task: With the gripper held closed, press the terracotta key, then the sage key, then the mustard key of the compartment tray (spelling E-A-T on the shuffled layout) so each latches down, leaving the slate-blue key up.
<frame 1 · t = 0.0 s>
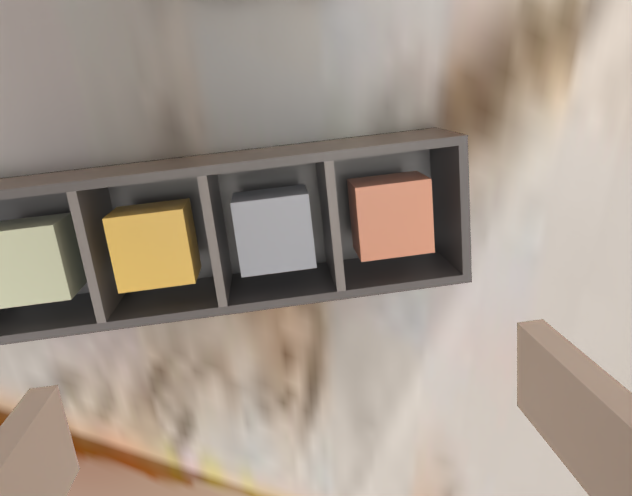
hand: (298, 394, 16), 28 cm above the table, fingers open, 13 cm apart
key E: (389, 214, 39), point 5 cm above the table, slide at 0.0 cm
key T: (155, 244, 38), point 5 cm above the table, slide at 0.0 cm
compartment tray: (220, 219, 43), on the table
key S: (273, 229, 38), point 5 cm above the table, slide at 0.0 cm
key A: (33, 259, 37), point 5 cm above the table, slide at 0.0 cm
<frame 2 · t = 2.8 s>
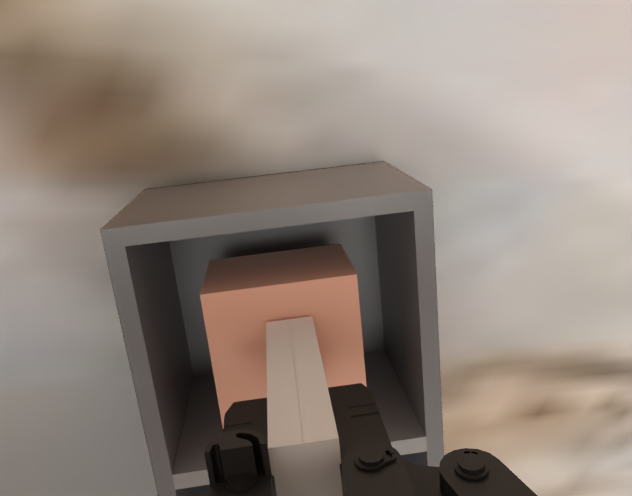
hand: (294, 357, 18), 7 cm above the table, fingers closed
key E: (285, 332, 20), point 5 cm above the table, slide at 0.3 cm, touching gripper
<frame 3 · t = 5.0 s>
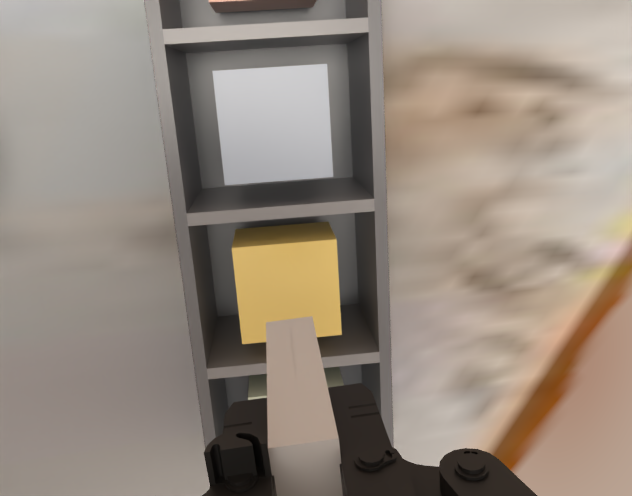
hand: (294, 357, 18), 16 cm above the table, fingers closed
key T: (287, 280, 29), point 5 cm above the table, slide at 0.0 cm
compartment tray: (278, 187, 33), on the table
key S: (274, 123, 27), point 5 cm above the table, slide at 0.0 cm
key A: (298, 415, 31), point 5 cm above the table, slide at 0.0 cm
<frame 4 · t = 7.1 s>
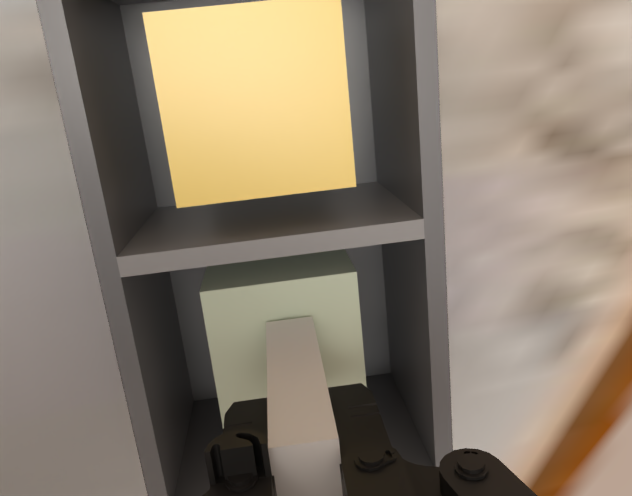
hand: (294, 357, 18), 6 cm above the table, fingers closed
key T: (255, 102, 17), point 5 cm above the table, slide at 0.0 cm
key A: (285, 329, 20), point 4 cm above the table, slide at 1.4 cm, touching gripper
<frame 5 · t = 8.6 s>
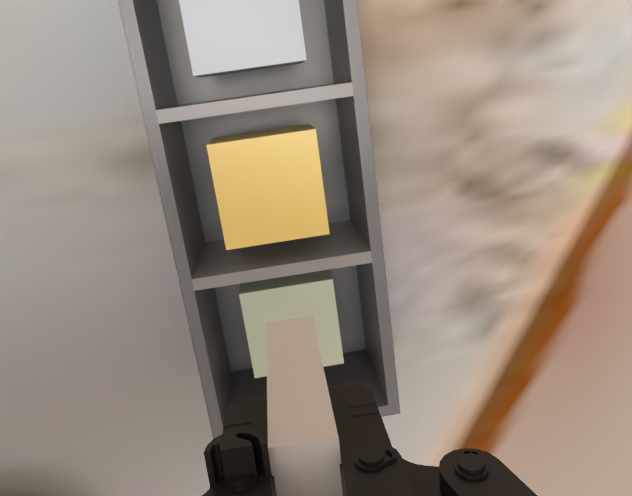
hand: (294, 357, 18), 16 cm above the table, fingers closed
key T: (269, 184, 28), point 5 cm above the table, slide at 0.0 cm
compartment tray: (257, 99, 32), on the table
key S: (241, 12, 26), point 5 cm above the table, slide at 0.0 cm
key A: (291, 316, 32), point 3 cm above the table, slide at 1.9 cm
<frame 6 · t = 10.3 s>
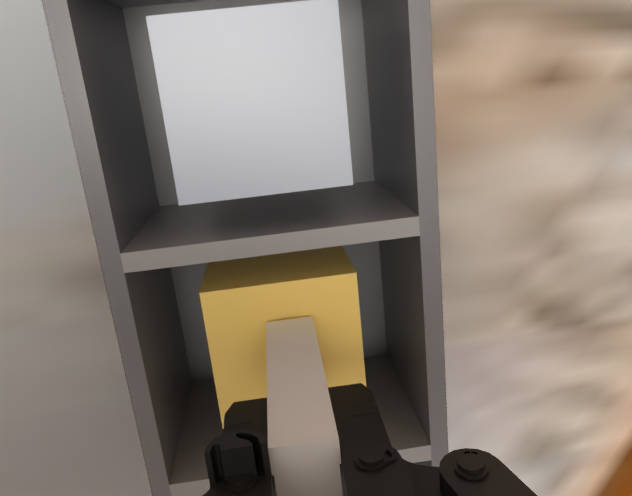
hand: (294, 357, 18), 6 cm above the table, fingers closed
key T: (285, 330, 20), point 4 cm above the table, slide at 0.9 cm, touching gripper
compartment tray: (269, 199, 23), on the table
key S: (255, 103, 17), point 5 cm above the table, slide at 0.0 cm
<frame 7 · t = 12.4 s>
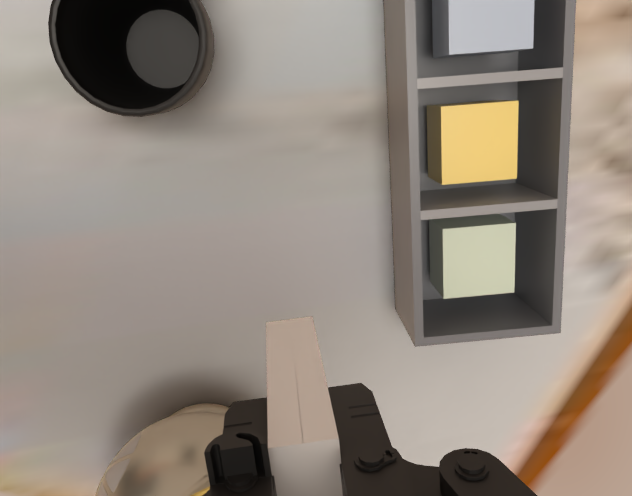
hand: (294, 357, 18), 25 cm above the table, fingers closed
key T: (470, 141, 38), point 3 cm above the table, slide at 1.9 cm
compartment tray: (456, 80, 40), on the table
mug: (179, 25, 38), on the table
key S: (480, 10, 34), point 5 cm above the table, slide at 0.0 cm
teapot: (200, 458, 47), on the table
key A: (470, 253, 40), point 3 cm above the table, slide at 1.9 cm
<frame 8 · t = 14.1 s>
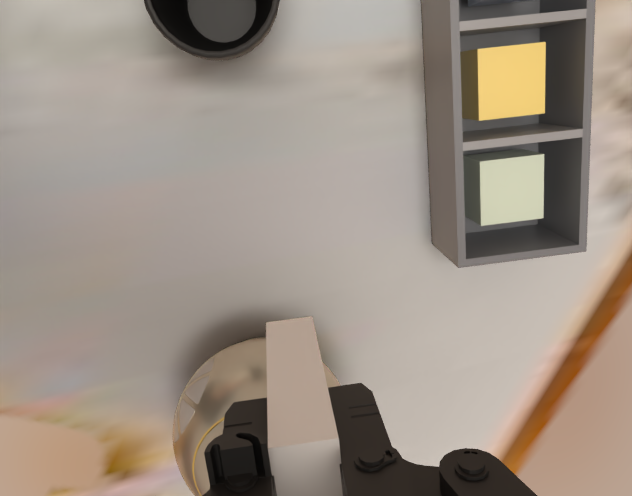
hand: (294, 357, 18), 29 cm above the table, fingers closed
key T: (501, 82, 42), point 3 cm above the table, slide at 1.9 cm
compartment tray: (484, 29, 44), on the table
teapot: (255, 390, 51), on the table
key A: (502, 186, 45), point 3 cm above the table, slide at 1.9 cm
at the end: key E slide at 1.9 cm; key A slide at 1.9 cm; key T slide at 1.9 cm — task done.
